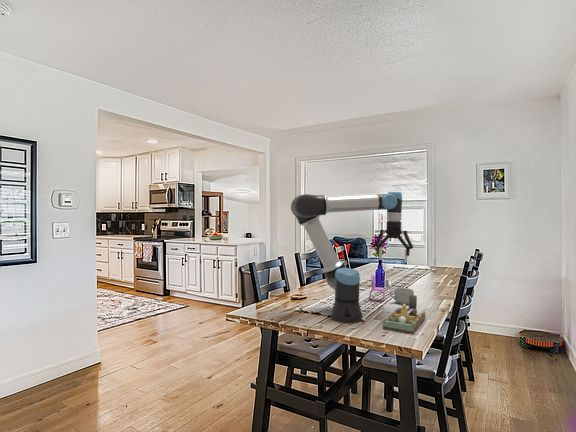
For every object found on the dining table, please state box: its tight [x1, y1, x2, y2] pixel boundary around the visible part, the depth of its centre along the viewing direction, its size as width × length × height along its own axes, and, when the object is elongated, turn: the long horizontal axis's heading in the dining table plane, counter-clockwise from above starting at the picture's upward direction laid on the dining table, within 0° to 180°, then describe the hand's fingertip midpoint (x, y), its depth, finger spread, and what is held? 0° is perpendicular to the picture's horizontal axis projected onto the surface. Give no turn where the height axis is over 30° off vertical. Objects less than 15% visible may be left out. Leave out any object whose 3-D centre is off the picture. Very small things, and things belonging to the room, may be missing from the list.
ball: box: [398, 316, 407, 324], centre depth 167 cm, size 4×4×4 cm
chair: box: [367, 274, 386, 303], centre depth 216 cm, size 8×9×15 cm
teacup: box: [388, 287, 415, 306], centre depth 212 cm, size 14×11×8 cm
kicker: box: [394, 295, 418, 323], centre depth 178 cm, size 21×9×9 cm, turn 150°
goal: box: [382, 317, 414, 331], centre depth 163 cm, size 8×13×2 cm, turn 60°
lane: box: [382, 307, 427, 335], centre depth 172 cm, size 28×13×4 cm, turn 150°
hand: (392, 260), depth 196 cm, fingers open, 13 cm apart
